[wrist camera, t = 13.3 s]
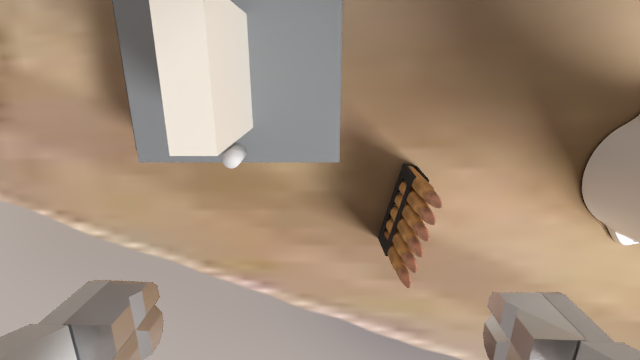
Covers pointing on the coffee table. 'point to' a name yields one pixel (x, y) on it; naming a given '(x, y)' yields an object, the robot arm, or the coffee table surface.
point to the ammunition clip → (408, 221)
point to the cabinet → (265, 77)
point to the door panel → (202, 74)
